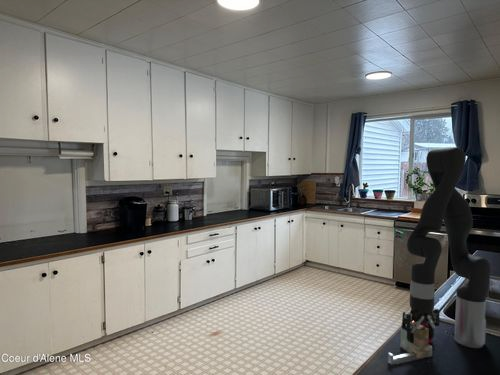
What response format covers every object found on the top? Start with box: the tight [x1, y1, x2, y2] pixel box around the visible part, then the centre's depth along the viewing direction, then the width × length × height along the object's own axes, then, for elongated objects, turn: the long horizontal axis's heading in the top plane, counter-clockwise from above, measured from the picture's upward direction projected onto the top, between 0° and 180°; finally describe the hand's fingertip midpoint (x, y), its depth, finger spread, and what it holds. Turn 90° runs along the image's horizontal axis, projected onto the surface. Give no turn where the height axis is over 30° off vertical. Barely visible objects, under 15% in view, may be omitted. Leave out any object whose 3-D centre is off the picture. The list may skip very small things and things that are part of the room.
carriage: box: [410, 325, 430, 358], centre depth 118 cm, size 5×4×10 cm
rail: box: [387, 343, 433, 366], centre depth 117 cm, size 18×2×4 cm, turn 109°
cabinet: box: [399, 324, 410, 353], centre depth 124 cm, size 6×5×8 cm
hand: (420, 339), depth 118 cm, fingers open, 8 cm apart
